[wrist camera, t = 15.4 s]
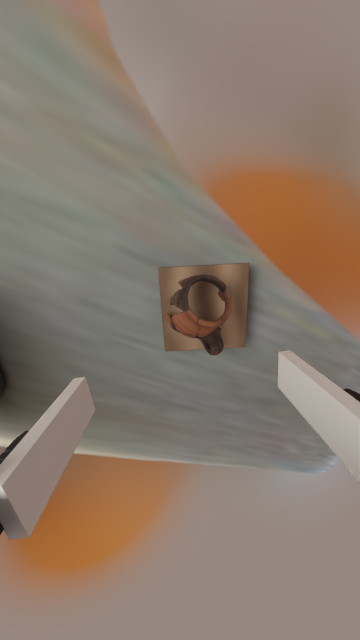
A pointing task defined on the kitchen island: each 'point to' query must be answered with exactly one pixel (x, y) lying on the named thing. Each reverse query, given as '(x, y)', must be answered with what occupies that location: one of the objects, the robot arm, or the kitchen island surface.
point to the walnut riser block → (206, 303)
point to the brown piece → (194, 325)
